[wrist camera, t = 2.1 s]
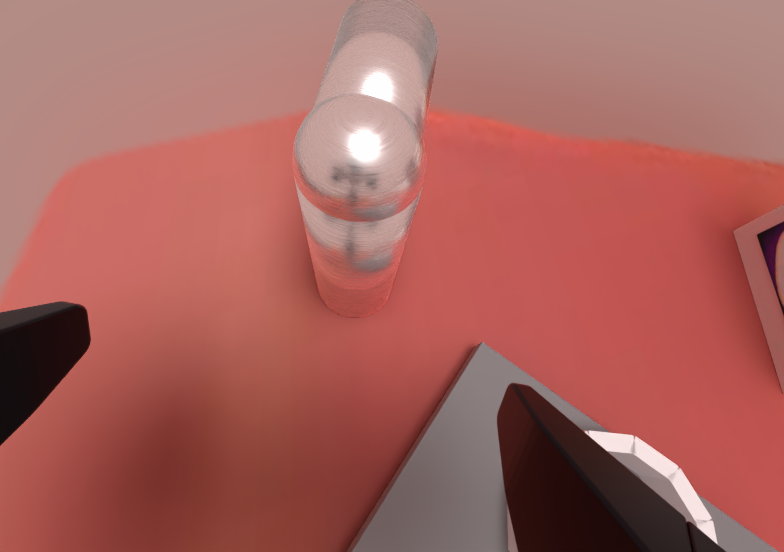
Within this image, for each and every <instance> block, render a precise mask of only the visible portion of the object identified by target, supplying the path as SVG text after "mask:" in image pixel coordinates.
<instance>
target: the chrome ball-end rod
mask: <svg viewBox="0 0 784 552" xmlns="http://www.w3.org/2000/svg"><path fill="white" fill-rule="evenodd" d="M437 53H438V38H437V34H436V30H435V28H434V25H433V23H432V21H431V19H430V18H429V17H428V15H427V14H426V12H425V11H424V10H423V9H422V8H421V7H420V6H418V5H417V4H416V3H415V2H413V1H412V0H356V1H355V2H354V3H353V4H352V5H351V6H350V7H349V8H348V9H347V11H346V13H345V14H344V16H343V18H342V21H341V24H340V27H339V30H338V33H337V37H336V40H335V43H334V46H333V49H332V52H331V55H330V58H329V61H328V65H327V68H326V71H325V74H324V77H323V80H322V83H321V86H320V89H319V93H318V96H317V99H316V102H315V105H314V108H313V110H312V111H311V112H310V113H309V114H308V115H307V116H306V118H305V119H304V121H303V122H302V124H301V126H300V127H299V130H298V132H297V134H296V138H295V141H294V145H293V153H292V165H293V174H294V179H295V183H296V188H297V193H298V198H299V202H300V207H301V212H302V216H303V221H304V226H305V231H306V235H307V240H308V245H309V249H310V254H311V259H312V264H313V268H314V273H315V278H316V282H317V287H318V291H319V294H320V297H321V299H322V300H323V302H324V303H325V305H326V306H327V307H328V308H329V309H331V310H332V311H333V312H335V313H337V314H339V315H342V316H345V317H351V318H359V317H364V316H368V315H370V314H373V313H374V312H376V311H377V310H379V309H380V308H381V307H382V306H383V305H384V304H385V303H386V301H387V299H388V298H389V295H390V293H391V289H392V286H393V283H394V279H395V276H396V273H397V270H398V266H399V263H400V260H401V256H402V253H403V250H404V247H405V243H406V240H407V237H408V233H409V230H410V227H411V224H412V220H413V217H414V214H415V210H416V207H417V204H418V201H419V197H420V194H421V191H422V187H423V184H424V180H425V175H426V167H427V158H426V150H425V145H424V135H425V129H426V123H427V116H428V110H429V104H430V98H431V91H432V85H433V78H434V73H435V66H436V60H437Z"/></svg>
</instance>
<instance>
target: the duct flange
mask: <svg viewBox="0 0 784 552" xmlns="http://www.w3.org/2000/svg"><path fill="white" fill-rule="evenodd" d="M511 383H518V384H524V385H529V386H531V387H532V388H533V389H534V390H535V391H537V392H538V393H539V394H540V395H541V396H543V397H544V398H545V399H546V400H547V401H548V402H550V403H551V404H552V405H553V406H554V407H556V408H557V409H558V410H559V411H560V412H561V413H563V414H564V415H565V416H566V417H567V418H569V419H570V420H571V421H572V422H573V423H574V424H576V425H577V426H578V427H579V428H580V429H582V430H583V431H584V432H585V433H586V434H587V435H589V436H590V437H591V438H592V439H593V440H595V441H596V442H597V443H598V444H599V445H600V446H602V447H603V448H604V449H605V450H606V451H608V452H609V453H610V454H611V455H612V456H613V457H615V458H616V459H617V460H618V461H619V462H621V463H622V464H623V465H624V466H625V467H626V468H628V469H629V470H630V471H631V472H632V473H634V474H635V475H636V476H637V477H638V478H639V479H641V480H642V481H643V482H644V483H645V484H647V485H648V486H649V487H650V488H651V489H653V490H654V491H655V492H656V493H657V494H658V495H660V496H661V497H662V498H663V499H664V500H666V501H667V502H668V503H669V504H670V505H671V506H673V507H674V508H675V509H676V510H677V511H679V512H680V513H681V514H682V515H683V516H684V517H685V518H686V521H690V522H692V523H693V524H694V525H695V526H696V527H698V528H699V529H700V530H701V531H702V532H703V533H705V534H706V535H707V536H708V537H709V538H710V539H712V540H713V541H714V542H715V543H716V544H718V545H719V546H720V547H721V548H722V549H724V550H725V551H726V552H779V551H777V550H776V549H774V548H773V547H772V546H770V545H769V544H767V543H766V542H764V541H763V540H762V539H760V538H759V537H757V536H756V535H755V534H753V533H752V532H750V531H749V530H748V529H746V528H745V527H743V526H742V525H740V524H739V523H738V522H736V521H735V520H733V519H732V518H731V517H729V516H728V515H726V514H725V513H723V512H722V511H721V510H719V509H718V508H716V507H715V506H714V505H712V504H711V503H709V502H708V501H707V500H705V499H704V498H702V497H701V496H699V495H698V494H697V493H696V492H695V491H694V489H693V488H692V486H691V484H690V483H689V481H688V480H687V478H686V477H685V475H684V473H683V472H682V470H681V469H680V468H678V466H677V465H676V464H675V463H673V462H672V461H670V460H669V459H667V458H666V457H665V456H663V455H662V454H660V453H659V452H657V451H656V450H655V449H653V448H652V447H650V446H649V445H647V444H646V443H645V442H643V441H642V440H640V439H639V438H637V437H636V436H634V435H626V434H617V433H610V432H609V431H608V430H606V429H605V428H603V427H602V426H600V425H599V424H598V423H596V422H595V421H593V420H592V419H591V418H589V417H588V416H586V415H585V414H584V413H582V412H581V411H579V410H578V409H576V408H575V407H574V406H572V405H571V404H569V403H568V402H567V401H565V400H564V399H562V398H561V397H559V396H558V395H557V394H555V393H554V392H552V391H551V390H550V389H548V388H547V387H545V386H544V385H543V384H541V383H540V382H538V381H537V380H535V379H534V378H533V377H531V376H530V375H528V374H527V373H526V372H524V371H523V370H521V369H520V368H518V367H517V366H516V365H514V364H513V363H511V362H510V361H509V360H507V359H506V358H504V357H503V356H502V355H500V354H499V353H497V352H496V351H494V350H493V349H492V348H490V347H489V346H487V345H486V344H485V343H483V342H481V343H480V344H478V345H477V346H475V347H474V348H473V350H472V351H471V353H470V355H469V356H468V358H467V359H466V361H465V363H464V364H463V366H462V367H461V369H460V371H459V372H458V374H457V375H456V377H455V379H454V380H453V382H452V383H451V385H450V387H449V388H448V390H447V391H446V393H445V395H444V396H443V398H442V399H441V401H440V403H439V404H438V406H437V407H436V409H435V411H434V412H433V414H432V415H431V417H430V419H429V420H428V422H427V423H426V425H425V426H424V428H423V430H422V431H421V433H420V434H419V436H418V438H417V439H416V441H415V442H414V444H413V446H412V447H411V449H410V450H409V452H408V454H407V455H406V457H405V458H404V460H403V462H402V463H401V465H400V466H399V468H398V470H397V471H396V473H395V474H394V476H393V478H392V479H391V481H390V482H389V484H388V486H387V487H386V489H385V490H384V492H383V494H382V495H381V497H380V498H379V500H378V501H377V503H376V505H375V506H374V508H373V509H372V511H371V513H370V514H369V516H368V517H367V519H366V521H365V522H364V524H363V525H362V527H361V529H360V530H359V532H358V533H357V535H356V537H355V538H354V540H353V541H352V543H351V545H350V546H349V548H348V549H347V551H346V552H518V550H517V545H516V541H515V536H514V532H513V527H512V523H511V518H510V514H509V509H508V505H507V500H506V495H505V489H504V482H503V473H502V465H501V456H500V447H499V438H498V429H497V414H498V410H499V408H500V405H501V402H502V400H503V397H504V394H505V392H506V389H507V387H508V385H509V384H511Z"/></svg>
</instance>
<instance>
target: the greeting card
mask: <svg viewBox="0 0 784 552" xmlns="http://www.w3.org/2000/svg"><path fill="white" fill-rule="evenodd" d="M733 233H734V236H735V239H736V243H737V246H738V249H739V252H740V256H741V259H742V262H743V265H744V269H745V272H746V275H747V278H748V282H749V285H750V288H751V291H752V295H753V298H754V301H755V304H756V307H757V311H758V314H759V317H760V320H761V324H762V327H763V330H764V333H765V337H766V340H767V343H768V346H769V350H770V353H771V356H772V359H773V363H774V366H775V369H776V372H777V376H778V379H779V382H780V385H781V389H782V392H783V394H784V204H783V205H781V206H779V207H778V208H776V209H774V210H772V211H770V212H768V213H766V214H764V215H762V216H760V217H758V218H756V219H755V220H753V221H751V222H749V223H747V224H745V225H743V226H741V227H739V228H737V229H735V230H734V231H733Z"/></svg>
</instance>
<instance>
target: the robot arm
mask: <svg viewBox="0 0 784 552" xmlns="http://www.w3.org/2000/svg"><path fill="white" fill-rule="evenodd" d="M90 341H91V337H90V329H89V322H88V314H87V310H86V309H85V307H84V306H82V305H80V304H74V303H69V302H54V303H49V304H43V305H38V306H33V307H28V308H22V309H17V310H12V311H6V312H1V313H0V445H1V444H2V443H3V442H5V441H6V440H7V439H8V438H9V437H10V436H11V435H12V434H13V433H14V432H15V431H16V430H17V429H18V428H19V427H20V426H21V425H22V424H23V423H24V422H25V421H26V420H27V419H28V418H29V417H30V416H31V415H32V414H33V413H34V411H35V410H36V409H37V408H38V407H39V406H40V405H41V404H42V403H43V401H44V400H45V399H46V398H47V397H48V396H49V394H50V393H51V392H52V391H53V390H54V389H55V387H56V386H57V385H58V384H59V383H60V382H61V380H62V379H63V378H64V377H65V376H66V375H67V373H68V372H69V371H70V370H71V369H72V368H73V366H74V365H75V364H76V363H77V362H78V361H79V359H80V358H81V357H82V356H83V355H84V354H85V352H86V351H87V349H88V348H89V345H90ZM497 429H498V438H499V447H500V456H501V465H502V473H503V482H504V489H505V495H506V500H507V505H508V509H509V514H510V518H511V523H512V527H513V532H514V536H515V541H516V545H517V550H518V552H726V551H725V550H724V549H722V548H721V547H720V546H719V545H718V544H716V543H715V542H714V541H713V540H712V539H710V538H709V537H708V536H707V535H706V534H705V533H703V532H702V531H701V530H700V529H699V528H698V527H696V526H695V525H694V524H693V523H692V522H690V521H686V518H685V517H684V516H683V515H682V514H681V513H680V512H679V511H677V510H676V509H675V508H674V507H673V506H671V505H670V504H669V503H668V502H667V501H666V500H664V499H663V498H662V497H661V496H660V495H658V494H657V493H656V492H655V491H654V490H653V489H651V488H650V487H649V486H648V485H647V484H645V483H644V482H643V481H642V480H641V479H639V478H638V477H637V476H636V475H635V474H634V473H632V472H631V471H630V470H629V469H628V468H626V467H625V466H624V465H623V464H622V463H621V462H619V461H618V460H617V459H616V458H615V457H613V456H612V455H611V454H610V453H609V452H608V451H606V450H605V449H604V448H603V447H602V446H600V445H599V444H598V443H597V442H596V441H595V440H593V439H592V438H591V437H590V436H589V435H587V434H586V433H585V432H584V431H583V430H582V429H580V428H579V427H578V426H577V425H576V424H574V423H573V422H572V421H571V420H570V419H569V418H567V417H566V416H565V415H564V414H563V413H561V412H560V411H559V410H558V409H557V408H556V407H554V406H553V405H552V404H551V403H550V402H548V401H547V400H546V399H545V398H544V397H543V396H541V395H540V394H539V393H538V392H537V391H535V390H534V389H533V388H532V387H531V386H529V385H524V384H518V383H511V384H509V385H508V387H507V389H506V392H505V394H504V397H503V400H502V402H501V405H500V408H499V410H498V414H497Z"/></svg>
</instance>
